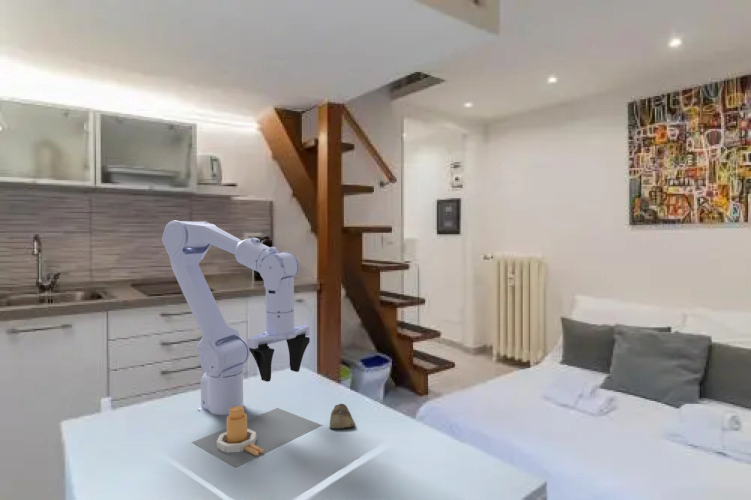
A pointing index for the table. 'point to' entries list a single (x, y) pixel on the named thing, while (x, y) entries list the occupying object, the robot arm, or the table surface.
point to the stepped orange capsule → (236, 425)
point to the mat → (257, 437)
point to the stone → (341, 417)
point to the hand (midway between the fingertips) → (280, 375)
